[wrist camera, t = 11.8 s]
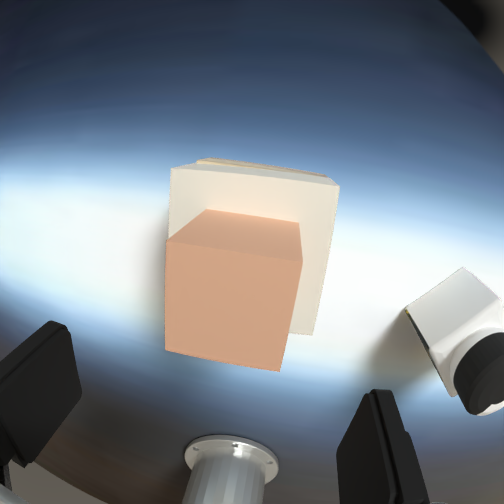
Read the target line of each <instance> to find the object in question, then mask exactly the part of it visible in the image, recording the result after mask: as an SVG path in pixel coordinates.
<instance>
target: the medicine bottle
mask: <svg viewBox="0 0 504 504" xmlns="http://www.w3.org/2000/svg"><path fill="white" fill-rule="evenodd" d="M405 311H406V313H407V315H408V317H409V319H410V320H411V322H412V324H413V326H414V328H415V330H416V332H417V334H418V336H419V337H420V339H421V341H422V343H423V345H424V347H425V349H426V351H427V353H428V355H429V357H430V359H431V361H432V362H433V364H434V366H435V368H436V370H437V372H438V374H439V376H440V378H441V380H442V382H443V383H444V385H445V387H446V389H447V391H448V393H449V395H450V396H451V397H455V396H456V395H459V397H460V399H461V401H462V403H463V405H464V407H465V409H466V410H467V412H469V413H470V414H472V415H479V416H482V415H487V414H490V413H493V412H495V411H497V410H499V409H500V408H502V407H503V406H504V307H503V303H502V300H501V298H500V297H499V296H498V295H497V294H495V293H494V292H493V291H492V290H491V289H490V288H489V287H488V286H486V285H485V284H484V283H483V282H482V281H481V280H480V279H478V278H477V277H476V276H475V275H474V274H472V273H471V272H470V271H469V270H468V269H466V268H465V267H462V268H460V269H459V270H458V271H456V272H455V273H454V274H452V275H451V276H450V277H448V278H447V279H445V280H444V281H443V282H441V283H440V284H439V285H437V286H436V287H434V288H433V289H431V290H430V291H429V292H427V293H426V294H424V295H423V296H421V297H420V298H418V299H417V300H416V301H414V302H413V303H411V304H410V305H408V306H407V307H406V308H405Z"/></svg>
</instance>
